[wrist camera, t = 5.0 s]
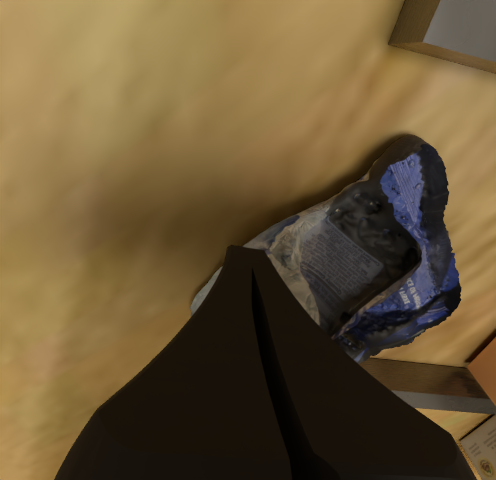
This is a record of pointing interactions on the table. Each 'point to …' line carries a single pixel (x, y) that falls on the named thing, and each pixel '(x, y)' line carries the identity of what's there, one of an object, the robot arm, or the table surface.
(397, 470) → the robot arm
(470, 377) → the rail track
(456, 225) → the table surface
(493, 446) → the coffee box
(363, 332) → the snack package
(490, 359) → the plate
